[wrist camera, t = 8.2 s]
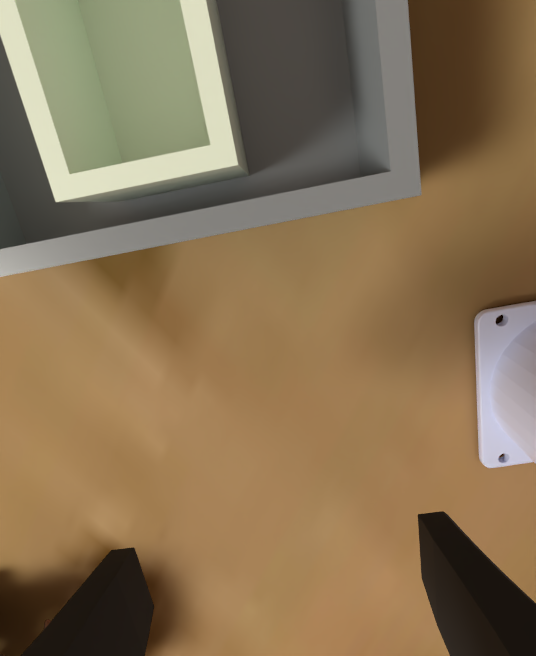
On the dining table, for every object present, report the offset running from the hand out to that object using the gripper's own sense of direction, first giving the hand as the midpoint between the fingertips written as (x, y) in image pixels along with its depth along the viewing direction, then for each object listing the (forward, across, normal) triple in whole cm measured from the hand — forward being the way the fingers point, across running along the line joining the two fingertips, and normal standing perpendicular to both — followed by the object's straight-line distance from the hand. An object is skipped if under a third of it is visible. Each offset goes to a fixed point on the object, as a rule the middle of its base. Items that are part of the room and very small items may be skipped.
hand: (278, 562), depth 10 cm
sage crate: (+8, +2, -14) cm, 16 cm away
